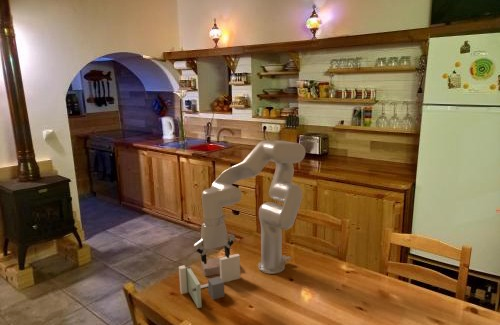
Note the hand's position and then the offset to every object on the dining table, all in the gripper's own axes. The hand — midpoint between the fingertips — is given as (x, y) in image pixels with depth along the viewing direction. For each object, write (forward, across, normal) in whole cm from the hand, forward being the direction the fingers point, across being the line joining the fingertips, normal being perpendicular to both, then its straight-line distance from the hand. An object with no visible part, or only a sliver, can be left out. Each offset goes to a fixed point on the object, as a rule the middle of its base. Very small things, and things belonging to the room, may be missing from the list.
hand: (216, 259), depth 145 cm
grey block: (+16, +1, 0) cm, 16 cm away
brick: (+17, -8, -18) cm, 26 cm away
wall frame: (+16, 0, -8) cm, 18 cm away
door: (+15, +11, -1) cm, 18 cm away
